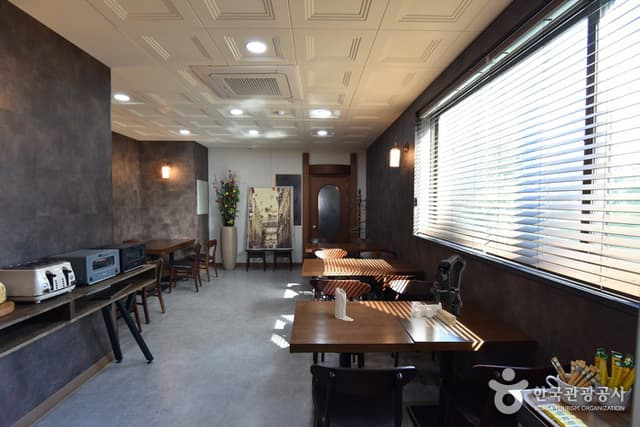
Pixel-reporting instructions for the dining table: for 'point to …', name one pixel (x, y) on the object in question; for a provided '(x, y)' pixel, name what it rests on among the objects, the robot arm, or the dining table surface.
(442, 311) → the rail
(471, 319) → the dining table surface
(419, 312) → the headboard
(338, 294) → the white boot
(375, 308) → the dining table surface
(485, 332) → the dining table surface
